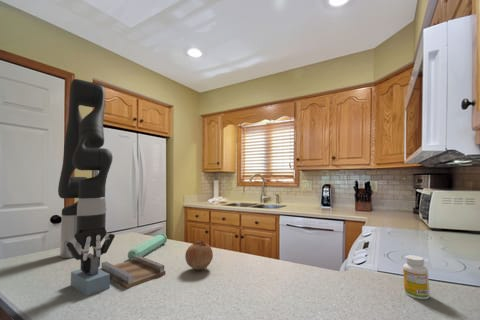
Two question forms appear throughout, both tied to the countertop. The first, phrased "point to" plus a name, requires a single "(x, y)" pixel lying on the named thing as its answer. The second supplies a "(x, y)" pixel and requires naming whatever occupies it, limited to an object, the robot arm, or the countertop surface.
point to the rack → (134, 271)
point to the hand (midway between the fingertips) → (90, 270)
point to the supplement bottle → (416, 278)
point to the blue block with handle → (90, 278)
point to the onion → (199, 255)
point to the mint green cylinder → (148, 245)
